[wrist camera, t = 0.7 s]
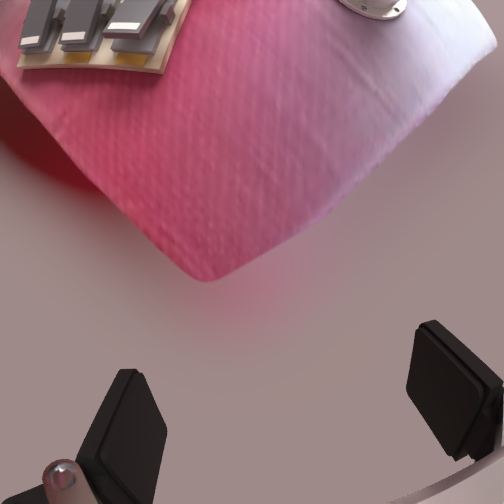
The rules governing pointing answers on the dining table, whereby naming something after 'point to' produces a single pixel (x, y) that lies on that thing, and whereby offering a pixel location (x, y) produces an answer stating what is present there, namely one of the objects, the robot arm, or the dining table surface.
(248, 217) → the dining table surface
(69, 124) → the dining table surface
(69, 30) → the rocker middle
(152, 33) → the switch board
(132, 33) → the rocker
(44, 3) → the plate
